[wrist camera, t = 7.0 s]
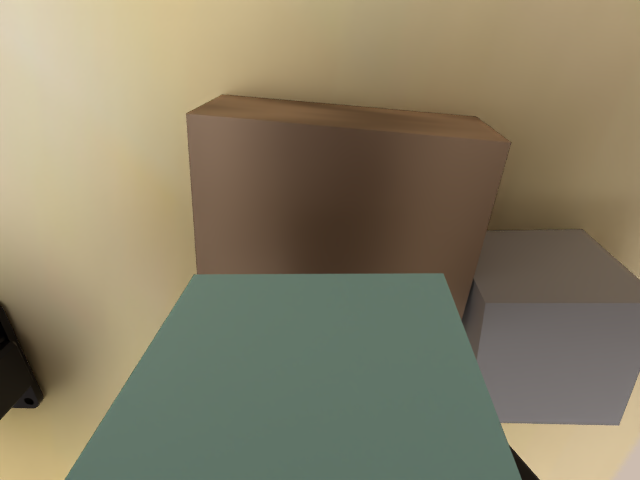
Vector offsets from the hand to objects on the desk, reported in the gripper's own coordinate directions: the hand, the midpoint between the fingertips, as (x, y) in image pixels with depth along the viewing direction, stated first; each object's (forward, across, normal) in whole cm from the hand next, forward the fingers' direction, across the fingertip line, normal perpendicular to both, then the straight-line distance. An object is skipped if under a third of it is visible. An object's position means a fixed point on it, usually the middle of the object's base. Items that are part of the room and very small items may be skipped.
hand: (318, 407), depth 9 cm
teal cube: (+1, 0, 0) cm, 1 cm away
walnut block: (+10, 0, 0) cm, 10 cm away
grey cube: (+9, -7, +3) cm, 12 cm away
